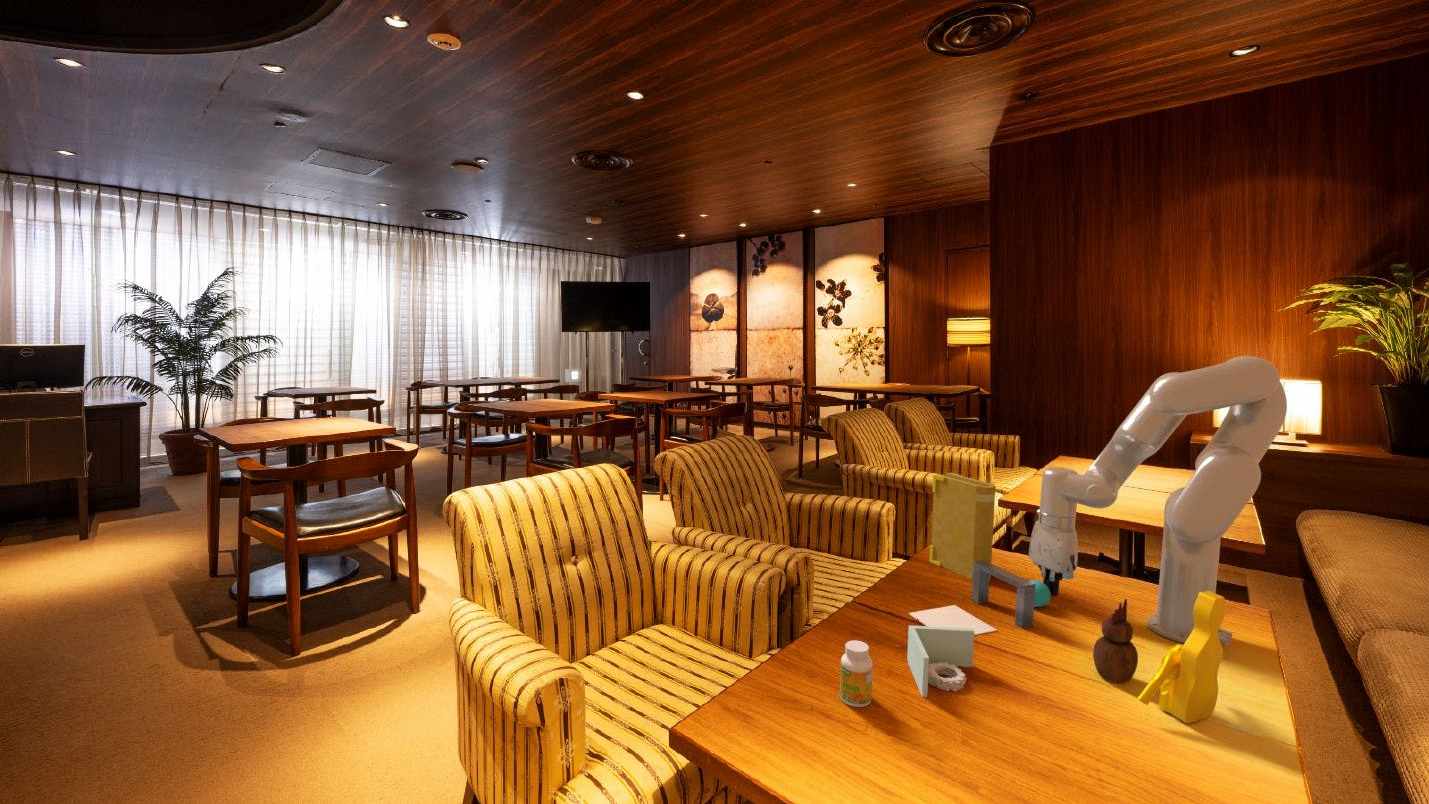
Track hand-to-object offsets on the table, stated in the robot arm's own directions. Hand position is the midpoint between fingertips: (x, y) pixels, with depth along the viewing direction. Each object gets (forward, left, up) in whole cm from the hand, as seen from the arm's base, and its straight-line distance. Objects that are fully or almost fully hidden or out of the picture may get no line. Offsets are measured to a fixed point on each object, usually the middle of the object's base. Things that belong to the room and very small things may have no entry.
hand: (1050, 594), depth 145 cm
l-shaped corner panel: (-19, +46, -2) cm, 50 cm away
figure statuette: (-41, +15, -2) cm, 43 cm away
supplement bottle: (-19, +65, -2) cm, 68 cm away
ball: (0, +5, +1) cm, 5 cm away
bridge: (-1, +15, -2) cm, 15 cm away
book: (+23, +5, -2) cm, 24 cm away
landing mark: (-1, +29, -2) cm, 29 cm away
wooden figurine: (-29, +16, -2) cm, 33 cm away
